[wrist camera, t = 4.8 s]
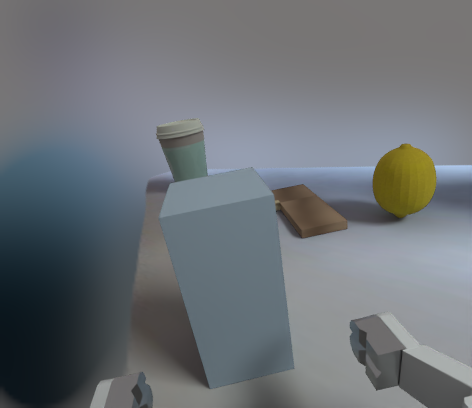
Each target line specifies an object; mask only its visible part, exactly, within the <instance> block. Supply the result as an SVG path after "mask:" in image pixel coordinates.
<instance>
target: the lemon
mask: <svg viewBox="0 0 472 408" xmlns="http://www.w3.org/2000/svg"><path fill="white" fill-rule="evenodd" d="M435 188H436V171H435V167H434V164H433V161H432V159H431V158H430V157H429V156H428V155H427V154H426V153H425V152H423V151H422V150H420V149H417V148H414V147H412V146H411V145H410V144H402V145H401V146H400V147H399V148H396V149H393V150H391V151H390V152H388V153H387V154H385V155H384V156H383V157H382V158H381V159H380V161H379V162H378V164H377V166H376V168H375V171H374V175H373V192H374V196H375V199H376V201H377V202H378V204H379V205H380V206H381V207H382V208H383V209H385V210H386V211H388V212H390V213H393V214H394V215H395V216H397V217H398V218H403V217H405V216H406V215H408V214H413V213H416V212H418V211H420V210H421V209H423V208H424V207H425V206H426V205H427V204H428V203H429V202H430V200H431V199H432V197H433V195H434V192H435Z"/></svg>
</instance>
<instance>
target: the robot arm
mask: <svg viewBox="0 0 472 408" xmlns="http://www.w3.org/2000/svg"><path fill="white" fill-rule="evenodd" d="M350 329H351V330H352V332H353V333H352V334H351V335H350V344H351V347H352V350H353V353H354V355H355V357H356V358H357V360H358V362H359V363H361V364H363V365H364V366H366V375H367V376H368V378H369V379H370V381H371V383H372V384H373V386H374V387H375V389H376V391H377V390H381V389H386V388H390V387H394V386H399V387H400V388H401V389H403V390H404V391H405V392H407V393H408V394H410V395H411V396H412V397H414V398H415V399H416V400H418V401H419V402H421V403H422V404H423V405H425V406H426V407H427V408H472V368H471V367H469V366H467V365H465V364H463V363H461V362H459V361H457V360H455V359H453V358H451V357H449V356H446V355H444V354H442V353H440V352H438V351H436V350H434V349H432V348H430V347H428V346H426V345H419V343H418V342H417V341H416V340H415V339H414V338H413V337H412V336H411V335H410V334H409V333H408V331H407V330H406V329H405V328H404V327H403V326H402V325H401V324H400V323H399V322H398V321H397V319H396V318H395V317H394V316H393V315H392V314H391V313H389V312H384V313H380V314H376V315H371V316H367V317H363V318H359V319H355V320H351V322H350ZM145 380H146V377H145V375H144V373H143V372H139V373H135V374H130V375H125V376H121V377H116V378H112V379H107V380H103V381H100V383H99V384H98V386H97V388H96V391H95V394H94V397H93V399H92V402H91V405H90V408H153V396H152V391H151V388H150V386H149V385H147V384H145Z"/></svg>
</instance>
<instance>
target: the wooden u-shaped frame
mask: <svg viewBox="0 0 472 408" xmlns="http://www.w3.org/2000/svg"><path fill="white" fill-rule="evenodd" d="M272 193H273V194H274V198H275V207H276V211H277V210H281V211H282V212H283V213H284V215H285V216H286V217H287V219H288V220H289V221H290V223H291V224H292V225H293V227H294V228H295V229H296V231H297V232H298V233H299V235H300V236H301V237H302V238H306V237H311V236H315V235H320V234H325V233H329V232H334V231H339V230H343V229H347V220H346V219H345V218H344V217H343V216H341V215H340V214H339V213H338V212H337V211H335V210H334V209H333V208H332V207H330V206H329V205H328V204H327V203H325V202H324V201H323V200H322V199H321V198H319V197H318V196H317V195H316V194H314V193H313V192H312V191H311V190H309V189H308V188H307V187H306V186H305V185H303V184H302V185H297V186H292V187H287V188H282V189H277V190H272Z"/></svg>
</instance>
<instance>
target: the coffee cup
mask: <svg viewBox="0 0 472 408" xmlns="http://www.w3.org/2000/svg"><path fill="white" fill-rule="evenodd" d="M203 130H204V128H203V125H202V124H201V122H200V120H199V119H198V118H197V119H187V120H181V121H176V122H171V123H167V124H163V125H159V126H157V134H156V135H157V139H159V141H160V144H161V147H162V149H163V152H164V154H165V157H166V160H167V162H168V165H169V167H170V170H171V172H172V175H173V178H174V180H175V182H180V181H185V180H190V179H195V178H200V177H205V176H207V166H206V155H205V145H204V135H203Z"/></svg>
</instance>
